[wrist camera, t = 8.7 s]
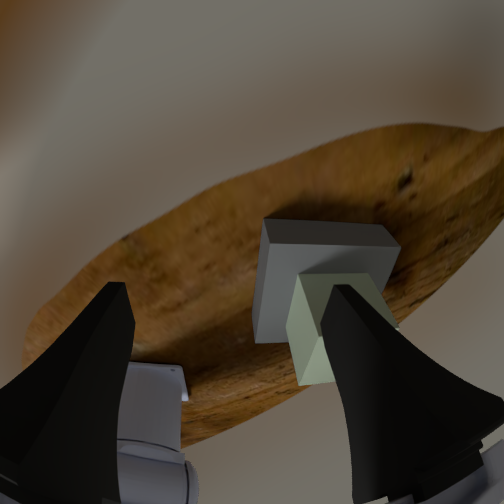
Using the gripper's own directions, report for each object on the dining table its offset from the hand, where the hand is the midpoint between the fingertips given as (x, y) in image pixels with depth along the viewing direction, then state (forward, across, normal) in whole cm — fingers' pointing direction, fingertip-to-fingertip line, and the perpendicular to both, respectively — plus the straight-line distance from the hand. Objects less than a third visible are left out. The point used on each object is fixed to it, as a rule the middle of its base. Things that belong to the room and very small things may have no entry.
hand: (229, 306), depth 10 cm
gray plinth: (+9, -7, +6) cm, 13 cm away
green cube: (+6, -7, +6) cm, 11 cm away
